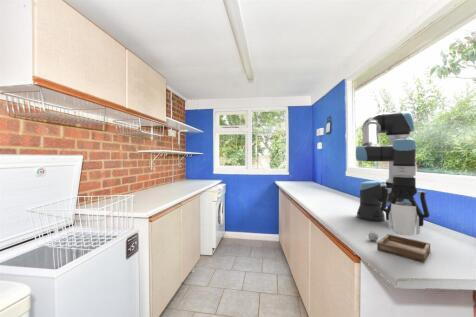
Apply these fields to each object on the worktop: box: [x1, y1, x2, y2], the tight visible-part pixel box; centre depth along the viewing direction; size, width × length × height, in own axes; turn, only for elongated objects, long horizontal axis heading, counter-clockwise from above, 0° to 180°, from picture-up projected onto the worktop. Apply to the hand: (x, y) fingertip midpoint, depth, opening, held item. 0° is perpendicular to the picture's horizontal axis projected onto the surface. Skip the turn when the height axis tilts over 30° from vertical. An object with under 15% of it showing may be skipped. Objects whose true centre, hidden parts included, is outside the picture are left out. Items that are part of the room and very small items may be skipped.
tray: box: [376, 233, 431, 263], centre depth 91 cm, size 15×15×3 cm
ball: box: [367, 231, 379, 242], centre depth 101 cm, size 4×4×4 cm
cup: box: [390, 202, 418, 236], centre depth 90 cm, size 9×9×12 cm
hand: (403, 230), depth 91 cm, fingers closed on cup, 9 cm apart
